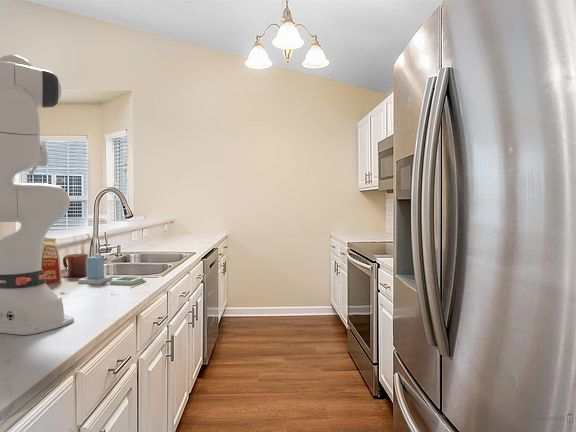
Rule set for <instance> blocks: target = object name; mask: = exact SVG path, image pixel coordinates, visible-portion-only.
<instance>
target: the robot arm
mask: <svg viewBox="0 0 576 432" xmlns="http://www.w3.org/2000/svg"><path fill="white" fill-rule="evenodd" d="M61 95H62V85H61V83H60V80H59V77H58V75H56V74H55V73H54V72H51V71H49V70H47V69H43V68H42V69H40V68H36V67H33V65H32V64H31V63H30V61H28V60H27V59H26V58H24V57H21V56H19V55H17V54H6V55H2V56H1V57H0V223H20V224H21V225H20V228H19V229H18V230H17V231H15V232H13V233H11V234H8V235H6V236H4V237H1V238H0V334H10V335H20V336H27V335H28V336H29V335H34V334H40V333H44V332H48V331H51V330H54V329H58V328H61V327H63V326H66V325H69V324H71V323H72V322H74V321H75V320H74V317H73V316H71V315H68V314H65V311H64V303H63V298H62V297H61V296H58V295H57V294H56V293H55V292H54V290H52V288H51V287H49V286H48V284H46V278H48V277H46V278H45V276H47V274H44V271H43V269H42V268H41V259H42V245H43V241H44V238H46V235H47V233H48V232H49V230H50V229H51V228H52V226H54V225H55V224H56V223H57V222H58V221H60V220H61V219H63V218H64V217H65V216H66V215H67V213H68V211H69V209H70V205H71V201H70V196H69V194H68V193H67V191H66V190H65V189H64V188H63V187H62V186H60V185H55V184H49V183H44V182H43V183H42V182H41V183H40V182H15V181H14V180H13V179H14V177H15V176H16V175H18V174H19V173H22V172H25V171H28V170H29V173H28V175H34V172H35V170H36V169H37V168H38V167H46V166H48V164H49V163H48V162H49V161H48V159H49V158H48V157H49V156H48V151H47V148H46V142H45V140H43V139H42V138H41V131H40V130H41V127H40V126H41V125H40V117H39V111H38V107H42V108H44V109H45V108H54V107H55V106H57V105H58V103H59V101H60V98H61Z"/></svg>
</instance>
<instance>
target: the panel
mask: <svg viewBox="0 0 576 432" xmlns="http://www.w3.org/2000/svg"><path fill="white" fill-rule="evenodd" d="M77 281H78V282H76V283H75V285H90V286H92V285H94V286H116V287H118V286H119V287H130V289H133V288H135V287H137V286H140V285H144V284H146V283H147V280H146V279H144V276H126V275H125V276H120V277H117V278H113V276H112V275H104V278H102V279H99V280H93V279H87V276H84V277H81V278H79V279H78V280H77Z"/></svg>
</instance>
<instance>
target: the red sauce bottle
mask: <svg viewBox="0 0 576 432" xmlns="http://www.w3.org/2000/svg"><path fill="white" fill-rule="evenodd" d="M56 240H57V238H54V237H53V238H51V237H45V238H44V241H43V245H42V259H41V268H42V269H43V271H44V274H47V276H45V278H46V277H48V278H46V284H47V285H49V284H54V283H55V284H56V283H61V282H62V280H63V279H62V268H61V259H60V252H59V249H58V245H57V242H56Z"/></svg>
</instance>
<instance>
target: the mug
mask: <svg viewBox="0 0 576 432" xmlns="http://www.w3.org/2000/svg"><path fill="white" fill-rule="evenodd" d="M87 258H89V254H88V253H73V254H72V253H71V254H67V255H65V256H64V257H63V258H62V264H63V267H64V268H65V270H67V276H68V278H85V277H87Z"/></svg>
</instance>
